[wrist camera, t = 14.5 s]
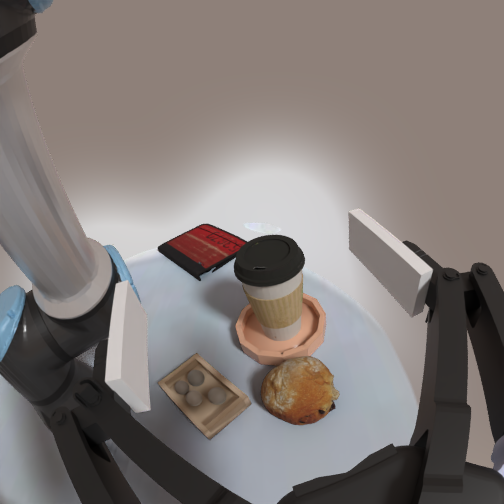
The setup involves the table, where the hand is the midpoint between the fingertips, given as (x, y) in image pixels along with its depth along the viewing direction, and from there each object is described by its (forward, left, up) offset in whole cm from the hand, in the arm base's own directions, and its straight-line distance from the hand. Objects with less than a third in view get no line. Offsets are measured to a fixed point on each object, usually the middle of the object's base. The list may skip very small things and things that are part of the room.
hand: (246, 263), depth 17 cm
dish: (-15, +14, -29) cm, 36 cm away
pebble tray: (-15, -3, -29) cm, 33 cm away
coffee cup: (-15, +14, -28) cm, 35 cm away
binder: (-49, +22, -30) cm, 61 cm away
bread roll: (-4, +6, -30) cm, 30 cm away
